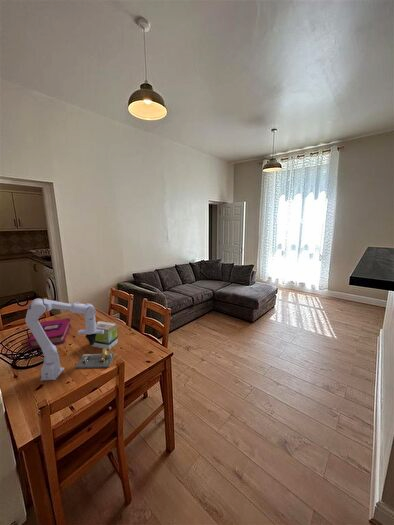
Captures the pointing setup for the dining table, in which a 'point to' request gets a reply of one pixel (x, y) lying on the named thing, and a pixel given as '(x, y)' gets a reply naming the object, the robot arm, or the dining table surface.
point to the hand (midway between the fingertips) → (92, 344)
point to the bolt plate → (95, 363)
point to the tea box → (106, 335)
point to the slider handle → (104, 354)
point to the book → (52, 332)
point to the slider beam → (94, 356)
